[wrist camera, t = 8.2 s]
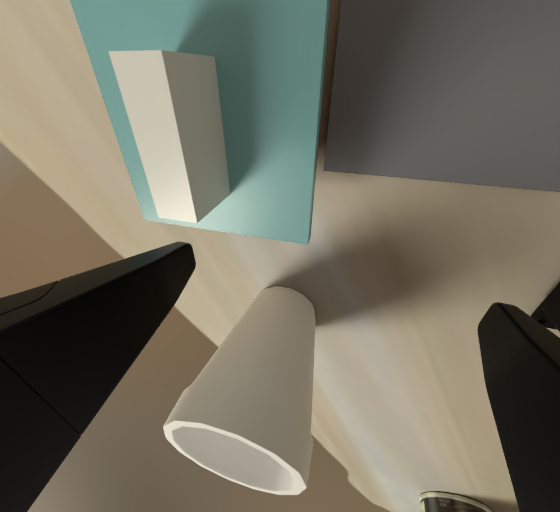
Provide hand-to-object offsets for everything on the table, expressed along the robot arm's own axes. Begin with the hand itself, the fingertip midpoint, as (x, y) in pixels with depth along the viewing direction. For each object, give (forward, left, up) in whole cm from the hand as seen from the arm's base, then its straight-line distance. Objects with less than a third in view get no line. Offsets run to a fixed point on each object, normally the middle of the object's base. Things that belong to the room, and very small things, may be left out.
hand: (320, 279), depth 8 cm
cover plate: (+7, -3, -7) cm, 10 cm away
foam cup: (+4, +14, -12) cm, 19 cm away
